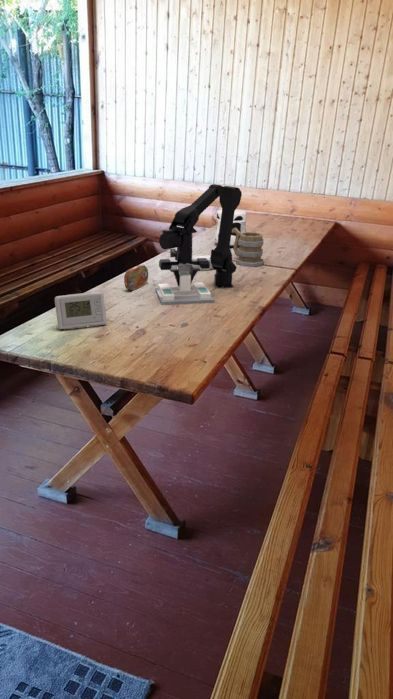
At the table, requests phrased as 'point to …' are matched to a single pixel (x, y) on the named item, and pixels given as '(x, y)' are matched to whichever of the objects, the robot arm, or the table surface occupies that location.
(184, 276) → the block
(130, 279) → the tin
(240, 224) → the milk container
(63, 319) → the digital clock
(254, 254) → the tankard
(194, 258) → the ramekin
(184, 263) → the robot arm
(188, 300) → the rail board
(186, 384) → the table surface
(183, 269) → the loose block
